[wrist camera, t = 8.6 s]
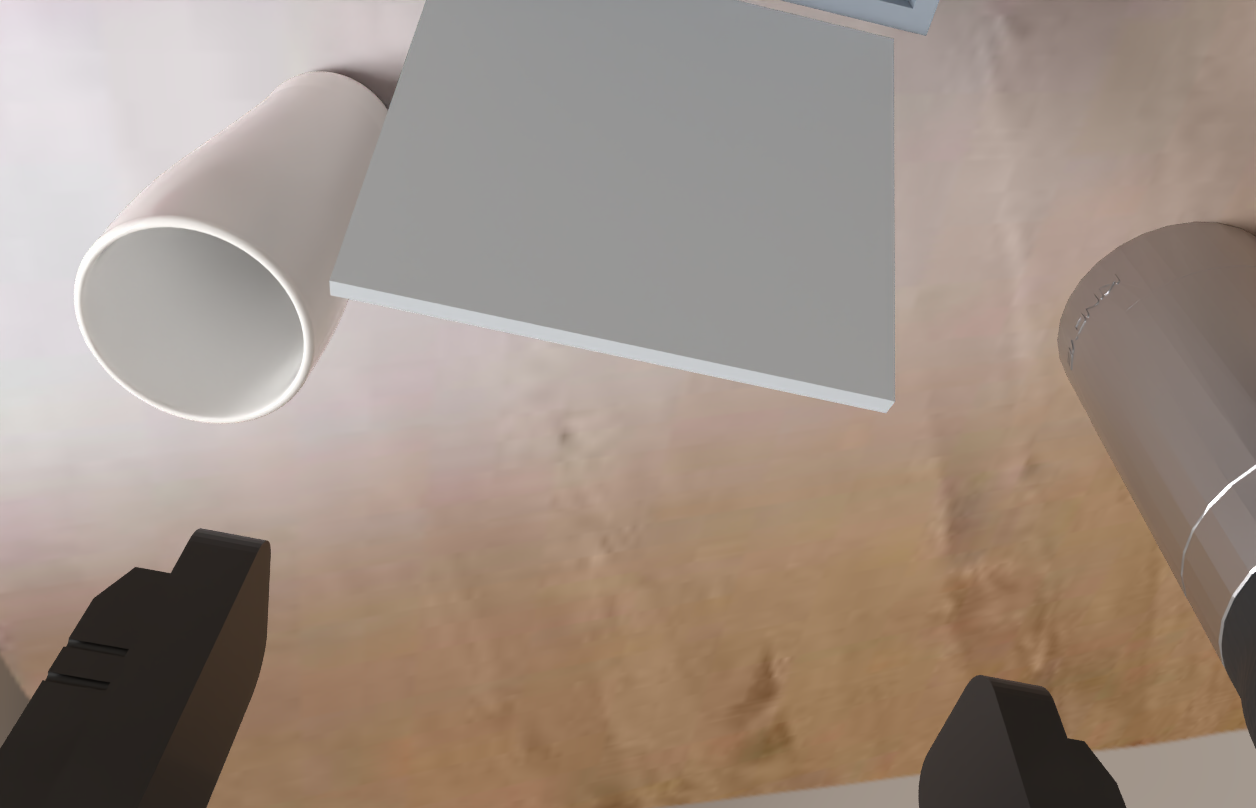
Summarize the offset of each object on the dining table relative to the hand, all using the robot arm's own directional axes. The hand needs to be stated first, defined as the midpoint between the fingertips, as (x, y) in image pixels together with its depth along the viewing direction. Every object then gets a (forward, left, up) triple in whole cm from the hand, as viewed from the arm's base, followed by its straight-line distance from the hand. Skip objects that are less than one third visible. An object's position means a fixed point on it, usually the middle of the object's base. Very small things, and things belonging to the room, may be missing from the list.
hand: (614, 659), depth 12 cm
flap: (0, -3, -22) cm, 22 cm away
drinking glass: (+11, +8, -32) cm, 35 cm away
